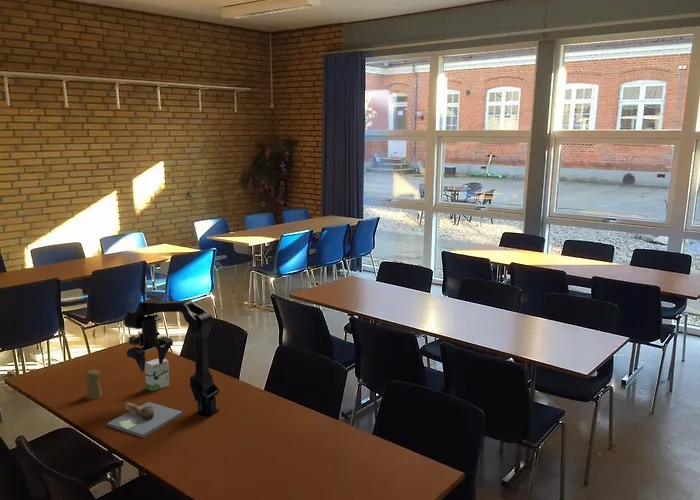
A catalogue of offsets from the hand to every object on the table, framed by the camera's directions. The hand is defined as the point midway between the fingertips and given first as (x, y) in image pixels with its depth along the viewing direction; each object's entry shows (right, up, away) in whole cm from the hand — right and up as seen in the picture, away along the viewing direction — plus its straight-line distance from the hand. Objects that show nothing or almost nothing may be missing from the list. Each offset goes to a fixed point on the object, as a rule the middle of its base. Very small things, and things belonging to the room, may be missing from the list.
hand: (151, 367), depth 230 cm
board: (+3, -17, -14) cm, 22 cm away
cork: (-25, -13, +5) cm, 29 cm away
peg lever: (-1, -15, -12) cm, 19 cm away
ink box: (-3, -12, +15) cm, 19 cm away
